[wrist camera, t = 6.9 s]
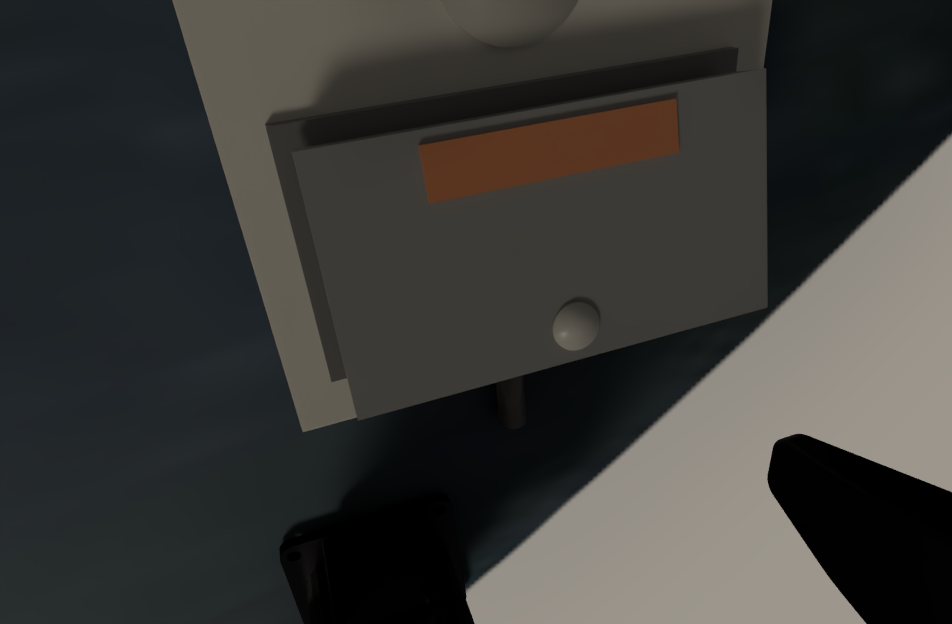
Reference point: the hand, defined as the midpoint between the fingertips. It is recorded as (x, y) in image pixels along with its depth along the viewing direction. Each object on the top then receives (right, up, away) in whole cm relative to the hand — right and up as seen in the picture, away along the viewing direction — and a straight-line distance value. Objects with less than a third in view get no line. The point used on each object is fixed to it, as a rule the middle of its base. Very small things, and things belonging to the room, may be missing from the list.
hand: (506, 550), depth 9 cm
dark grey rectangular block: (+1, +5, +7) cm, 9 cm away
